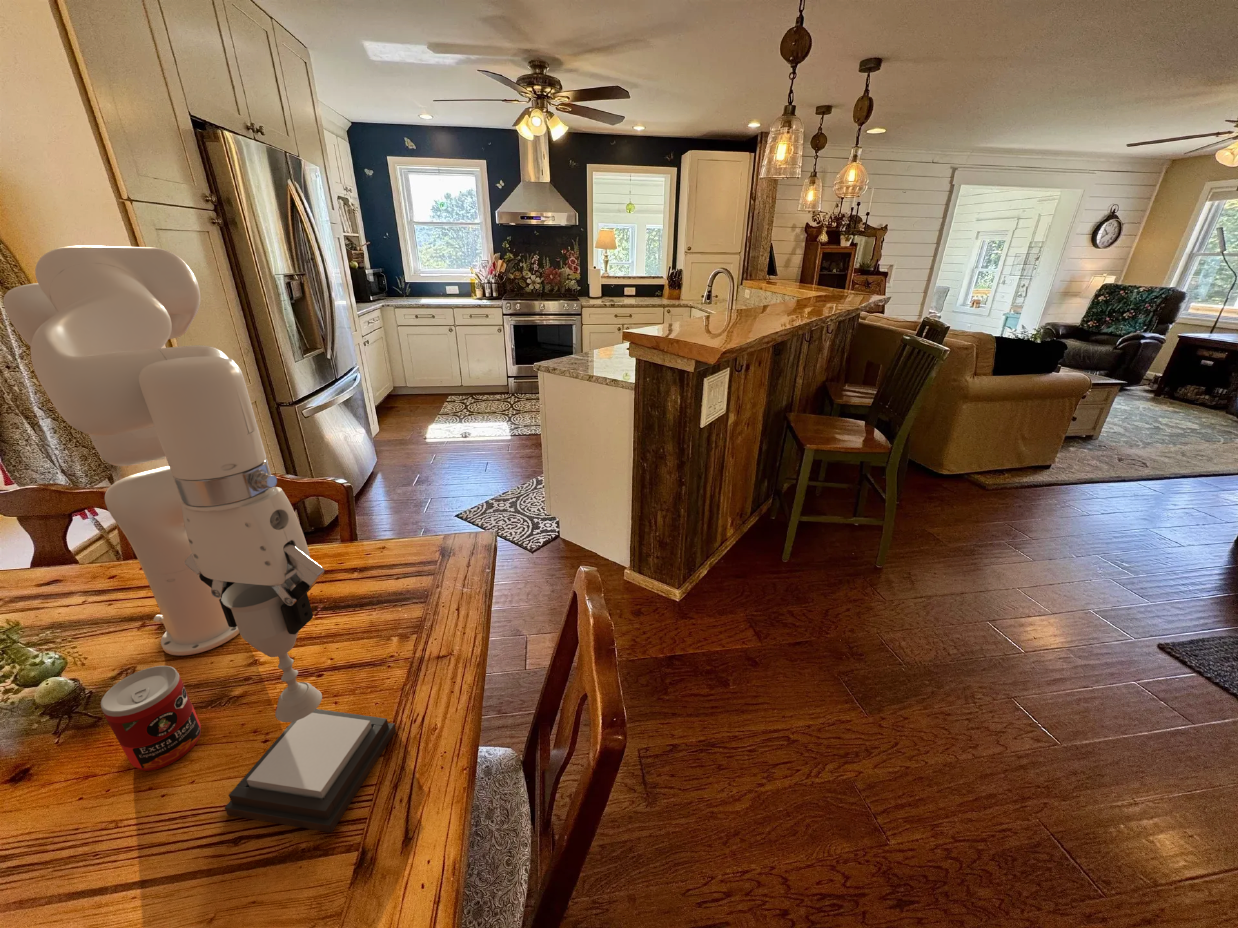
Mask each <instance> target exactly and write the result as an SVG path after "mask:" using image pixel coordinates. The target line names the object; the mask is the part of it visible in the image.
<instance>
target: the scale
mask: <svg viewBox="0 0 1238 928" xmlns="http://www.w3.org/2000/svg"><path fill="white" fill-rule="evenodd" d="M312 713H317V714H325V715H332V716H339V717H346V718H353V719H361V720H368V721H370V722H371V726H372V729H371V731H370V732H369V733H368V735H367V736H366V738H365V739H364V741H363V742H362V744H361V745H360V747H359V748H358V750H357V751H356V752H355V754H354V755H353V757H352V758H351V760H350V761H349V763H348V764H347V766H346V767H345V769H344V770H343V772H342V773H341V774H340V776H339V777H338V779H337V780H336V782H335V783H334V785H333V786H332V788H331V789H330V791H329V792H328V793H327V795H326V796H325V798H324V799H323V800H321V799H315V798H309V797H303V796H296V795H290V794H284V793H278V792H272V791H266V790H259V789H253V788H250V787H249V784H248V782H247V779H248V778H249V776H250V775H251V774H252V773H253V772H254V771H255V769H256V768H257V767H258V766H259V765H260V764H261V762H262V761H263V760H264V759H265V758H266V757H267V755H268V754H269V753H270V752H271V751H272V750H273V748H274V747H275V746H276V745H277V744H278V743H279V741H280V740H281V739H282V738H283V737H284V736H285V734H286V733H287V732H288V731H289V730H290V729H291V727H292V726H293V725H294V724H295V723H296V722H297V721H293V722H290V724H289V725H287V727H286V728H285V729H284V730H283V731H282V732H281V734H280V735H279V736H278V737H277V739H276V740H275V741H274V742H273V743H272V744H271V745H270V747H269V748H268V749H267V750H266V751H265V752H264V754H263V755H262V756H261V757H260V758H259V759H258V760H257V762H256V763H255V764H253V766H252V767H251V768H250V769H249V771H248V772H247V773H246V774H245V776H244V777H243V778H242V779H241V780H240V781H239V782H238V783H237V785H236V786H235V787H234V788H233V789H232V791H231V792H230V793H229V794H228V797H229V801H228V803H227V804H226V805H225V806H224V811H225V813H226V815H227V816H231V817H237V818H243V819H249V820H255V821H261V822H266V823H271V824H272V823H273V824H278V825H285V826H290V827H295V828H296V827H297V828H302V829H308V830H313V831H318V832H325V833H332V834H333V832H334V830H335V829H336V827H337V826H338V824H339V822H340V821H341V819H342V817H343V816H344V814H345V813H346V811H347V809H348V808H349V806H350V804H351V803H352V801H353V800H354V798H355V797H356V795H357V794H358V792H359V790H360V789H361V787H362V786H363V784H364V783H365V781H366V779H367V778H368V776H369V775H370V773H371V772H372V770H373V768H374V766H375V765H376V763H377V762H378V760H379V758H381V755H382V754H383V752H384V751H385V749H386V748H387V746H388V744H389V743H390V741H391V740H392V738H393V737H394V735H395V733H396V732H397V729H396V724H395V723H393V722H388V718H384V717H377V716H371V715H363V714H357V713H349V712H343V711H342V712H341V711H333V710H327V709H319V708H316V709H315V710H314V711H313V712H312Z"/></svg>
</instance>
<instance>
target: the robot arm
mask: <svg viewBox="0 0 1238 928" xmlns="http://www.w3.org/2000/svg"><path fill="white" fill-rule="evenodd" d="M34 273H35V278H36V281H37V283H35V282H34V283H29V284H24V285H19V286H15V287H13V288H11V289H9V290H8V291H7V292H6V293H5V294H4V297H3V306H4V310H5V313H6V315H7V317H8V319H9V320H10V322H11V324H12V325H13V327H14V329H15V330H16V332H17V333H19V335H20V337H21V338H22V339H23V340H24V342H25V343H27V345H28V346H29V347H30V360H31V364H32V368H33V371H34V373H35V375H36V377H37V379H38V382H39V383H40V384H41V386H42V388H43V390H44V391H45V393H46V395H47V396H48V398H49V400H50V401H51V404H52V405H53V406H54V408H55V410H56V411H57V413H58V414H59V415H60V416H61V418H62V419H63V420H64V421H65V422H66V423H67V424H68V425H70V426H71V427H72V428H74V429H75V430H77V431H79V432H81V433H84V434H87V435H88V436H89V438H90V440H91V442H92V445H93V446H94V448H95V451H96V452H97V453H98V455H99V456H100V457H101V459H102V460H103V461H105V463H107V464H109V465H111V466H117V467H131V466H136V465H142V464H147V463H152V462H157V461H161V460H165V459H166V461H167V464H168V465H166V466H162V467H158V468H154V469H149V470H145V471H142V472H138V473H137V472H136V473H134V474H131V475H128V476H126V477H123V478H120V479H119V480H117V481H115V482H114V483H112V484H111V485H110V486H109V487H108V488H107V490H106V491H105V494H104V502H105V503H104V504H105V506H106V509H107V511H108V512H109V514H110V516H111V517H112V519H113V520H114V522H115V523H116V525H117V526H118V527H119V529H120V530H121V532H122V533H123V534H124V536H125V538H126V539H127V542H128V543H129V544H130V546H131V548H132V550H133V552H134V554H135V557H136V559H137V560H138V563H139V565H140V567H141V569H142V572H143V574H144V576H145V579H146V581H147V583H148V586H149V588H150V590H151V593H152V595H153V597H154V599H155V602H156V604H157V607H158V609H159V613H160V614H156V615H155V616H154V617H153V619H152V620H153V622H154V623H158V624H163V626H164V628H165V632H164V633H163V635H162V636H161V639H160V646H161V648H162V650H163V651H164V652H165V653H166V654H169V655H170V656H180V657H181V656H191V655H196V654H200V653H201V654H202V653H204V652H207V651H210V650H212V649H215V648H217V647H220V646H222V645H223V644H225V643H227V642H228V641H231V640H232V639H233V638H235V637H236V636H238V635H240V633H239V630H238V627H237V624H236V622H235V619H234V616H233V613H232V610H231V609H230V608H228V607H227V606H225V605H224V604H223V603H222V601H221V598H222V594H223V593H224V592H225V591H226V590H227V588H229V587H230V586H231V585H232V584H234V583H235V582H236V583H245V584H256V585H269V586H271V587H272V588H273V589H274V590H275V592H276V593H277V594H278V595H279V597H280V598H281V599H282V601H283V602H284V604H282V605H281V612H282V615H283V618H284V621H285V624H286V628H287V631H288V633H289V634H294V635H295V634H296V633H297V632H298V631H299V632H300V631H301V630H302V629H303V628H304V627H305V626H306V625H307V624H308V623H309V622H310V621H311V620H312V619H313V618H314V612H313V609H312V606H311V603H310V602H311V601H310V598H309V595H308V593H309V592H310V591H311V590H312V589H313V587H314V586H315V585H316V584H317V583H318V581H319V580H320V579H321V577H322V576H323V575H324V574H325V572H326V570H325V568H324V567H323V566H321V565H320V564H319V563H318V562H316V561H315V560H314V559H312V558H311V553H310V549H309V547H308V544H307V541H306V538H305V534H304V531H303V529H302V526H301V524H300V522H299V519H298V517H297V514H296V512H295V510H294V508H293V506H292V504H291V502H290V500H289V498H288V497H287V495H286V493H285V491H284V490H283V489H282V487H278V486H277V484H278V477H277V476H276V475H275V474H272V471H271V468H270V465H269V461H268V457H267V454H266V450H265V446H264V444H263V439H262V436H261V432H260V429H259V426H258V422H257V419H256V416H255V411H254V408H253V404H252V402H251V401H252V400H251V397H250V395H249V391H248V387H247V384H246V379H245V377H244V374H243V370H241V368H240V367H239V365H238V364H237V363H236V362H235V360H233V358H231V357H228V356H227V354H226V353H224V352H223V351H222V350H220V349H219V348H216V347H214V346H210V345H204V344H203V345H202V344H201V345H200V344H199V345H196V344H195V345H183V346H182V345H181V346H172V347H164V346H165V345H166V344H167V342H168V340H173V339H177V338H180V337H182V336H184V335H185V334H186V333H187V331H188V330H189V328H190V327H191V324H192V323H193V322H194V319H195V317H196V315H198V313H199V309H200V306H201V301H202V300H201V298H202V297H201V290H200V286H199V282H198V279H197V278H196V275H195V273H194V272H193V271H192V269H191V267H190V266H189V265H188V264H187V263H186V262H185V261H184V260H183V258H181V257H180V256H178V255H177V254H175V253H174V252H172V251H170V250H167V249H164V248H161V247H154V246H153V247H152V246H151V247H150V246H109V245H107V246H106V245H70V246H63V247H58V248H57V247H56V248H54V249H52V250H49V251H48V252H45V253H44V254H43V255H42V256H41V257H40V258H39V260H38V261H37V262H36V265H35V269H34ZM289 578H290V579H291V581H292V582H293V583H294V584H295V587H294V588H293V589H292V591H291V590H290V589H289V588H288V587H287V585H286V584H285V583H284V582H285V581H287V580H288V579H289ZM299 632H298V633H299Z"/></svg>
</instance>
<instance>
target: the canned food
mask: <svg viewBox="0 0 1238 928" xmlns="http://www.w3.org/2000/svg"><path fill="white" fill-rule="evenodd" d="M100 708H101V711H102V713H103V715H104V718H105V719H106V721H107V723H108V725H109V726H110V729H111V730H112V732H113V734H114V736H115V738H116V739H117V741H118V744H119V745H120V747H121V749H122V750H123V752H124V754H125V756H126V758H127V759H128V762H129V763H130V765H131V766H133V767H134V768H136V769H137V770H140V771H145V772H147V771H155V770H158V769H162V768H165V767H167V766H169V765H171V764H173V763H176V762H177V761H178V760H180V759H181V758H183V757H184V756H185V755H187V754H188V753H189V752H190V751H191V750H192V749H193V748H194V747H195V745H197V743H198V742H199V739H200V737H201V732H202V725H201V722H200V720H199V717H198V715H197V713H196V711H195V708H194V705H193V704H192V700H191V698H190V696H189V694H188V691H187V689H186V687H185V684H184V682H183V679H182V677H181V676H180V673H179V672H178V670H177V669H176V668H175V667H173V666H169V665H156V666H152V667H151V666H150V667H147V668H144V669H141V670H138V671H136V672H133V673H131V674H130V675H128V676H126V677H123V679H121V680H119V681H118V682H117V683H115V684H114V685H113V686H112V687H110V688H109V689H108V690H107V691H106V693H105V694H104V695H103V696H102V698H101V701H100Z"/></svg>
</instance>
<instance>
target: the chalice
mask: <svg viewBox="0 0 1238 928" xmlns="http://www.w3.org/2000/svg"><path fill="white" fill-rule="evenodd" d="M284 583H285V584H286V585H287V587H288V588H289V589H290V590H291V591H292V589H293V588H294V587H295V584H294V583H293V582H292V581H291V579H290V578H289V579H288V580H287V581H285V582H284ZM221 601H222V603H223V604H224V605H225V606H227V607H228V608H230V609H231V610H232V613H233V616H234V619H235V622H236V624H237V627H238V630H239V635H240V636H241V638H242V639H243V640H244V641H245V642H246V643H247V644H249V645H250V646H251V647H252V648H254V649H255V650H257V651H259V652H261V653H262V654H264V655H266V656H267V657H269V658H278V665H277V668H278V669H280V670H281V671H282V672H283V674H282V676H281V678H280V680H281V681H282V682H285V683H286V684H287V687H286V688H284V689H283V690H282V692H281V694H280V695H279V697H278V700H277V704H276V710H275V712H274V713H275V715H274V716H275V718H276V720H277V721H279V722H281V723H291V722H293V721H297V720H300V719H302V718H304V717H306V716H308V715H309V714H311V713H312V712H313V711H314V710H315V709H318V707H319V706H320V705H321V703H322V700H323V693H322V692H321V691H320V690H319V689H317V688H316V687H315V686H314V685H312V684H311V683H309V682H304V681H298V680H297V676H298V674H299V670H297V669H294V668H293V664H294V661H295V660H294V659H293V658H291V657H290V656H289V654H288V653H289V652H290V651H291V650H293V648H294V646H295V644H296V641H297V638H298V635H299V632H300V630H299V631H298V632H297V633H296V634H295V635H294V634H289V633H288V631H287V628H286V624H285V621H284V618H283V615H282V612H281V605H282V604H284V602H283V601H282V599H281V598H280V597H279V595H278V594H277V593H276V592H275V590H274V589H273V588H272V587H271V586H269V585H256V584H245V583H236V582H235V583H234V584H232V585H231V586H230V587H229V588H227V590H226V591H225V592H224V593H223V594H222V598H221Z"/></svg>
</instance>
